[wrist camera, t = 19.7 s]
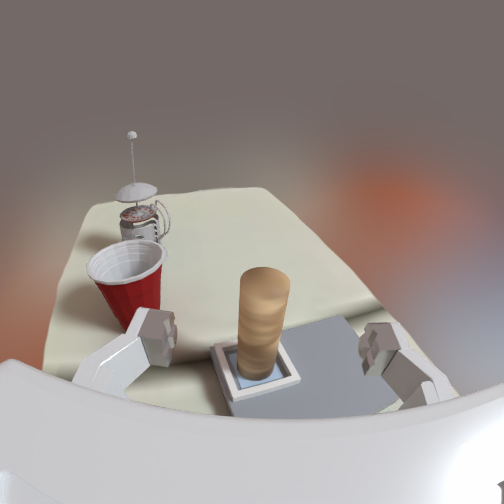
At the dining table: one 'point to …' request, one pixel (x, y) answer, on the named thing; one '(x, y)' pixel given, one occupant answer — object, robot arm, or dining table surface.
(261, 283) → the oak column
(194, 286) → the dining table surface
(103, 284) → the plastic cup
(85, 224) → the dining table surface
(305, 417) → the board
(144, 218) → the french press
